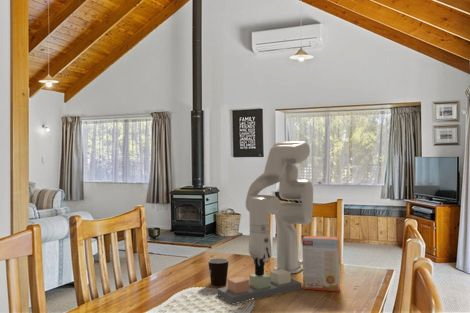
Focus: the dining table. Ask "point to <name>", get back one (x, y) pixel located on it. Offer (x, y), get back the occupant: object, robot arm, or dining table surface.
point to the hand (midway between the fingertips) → (259, 274)
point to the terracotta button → (238, 285)
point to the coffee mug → (218, 271)
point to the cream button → (280, 276)
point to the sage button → (260, 281)
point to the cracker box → (321, 263)
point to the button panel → (258, 291)
